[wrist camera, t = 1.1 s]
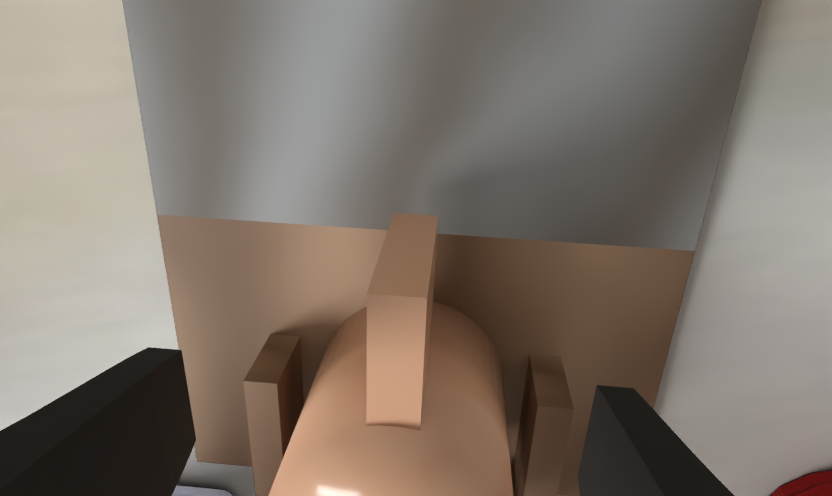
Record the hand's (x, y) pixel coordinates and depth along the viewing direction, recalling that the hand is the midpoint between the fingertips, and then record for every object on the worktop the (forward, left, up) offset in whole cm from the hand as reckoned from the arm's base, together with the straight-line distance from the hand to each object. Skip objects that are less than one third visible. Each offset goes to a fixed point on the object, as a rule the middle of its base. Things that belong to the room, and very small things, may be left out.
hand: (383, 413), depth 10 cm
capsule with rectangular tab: (-3, 0, -8) cm, 8 cm away
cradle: (0, 0, -9) cm, 9 cm away
